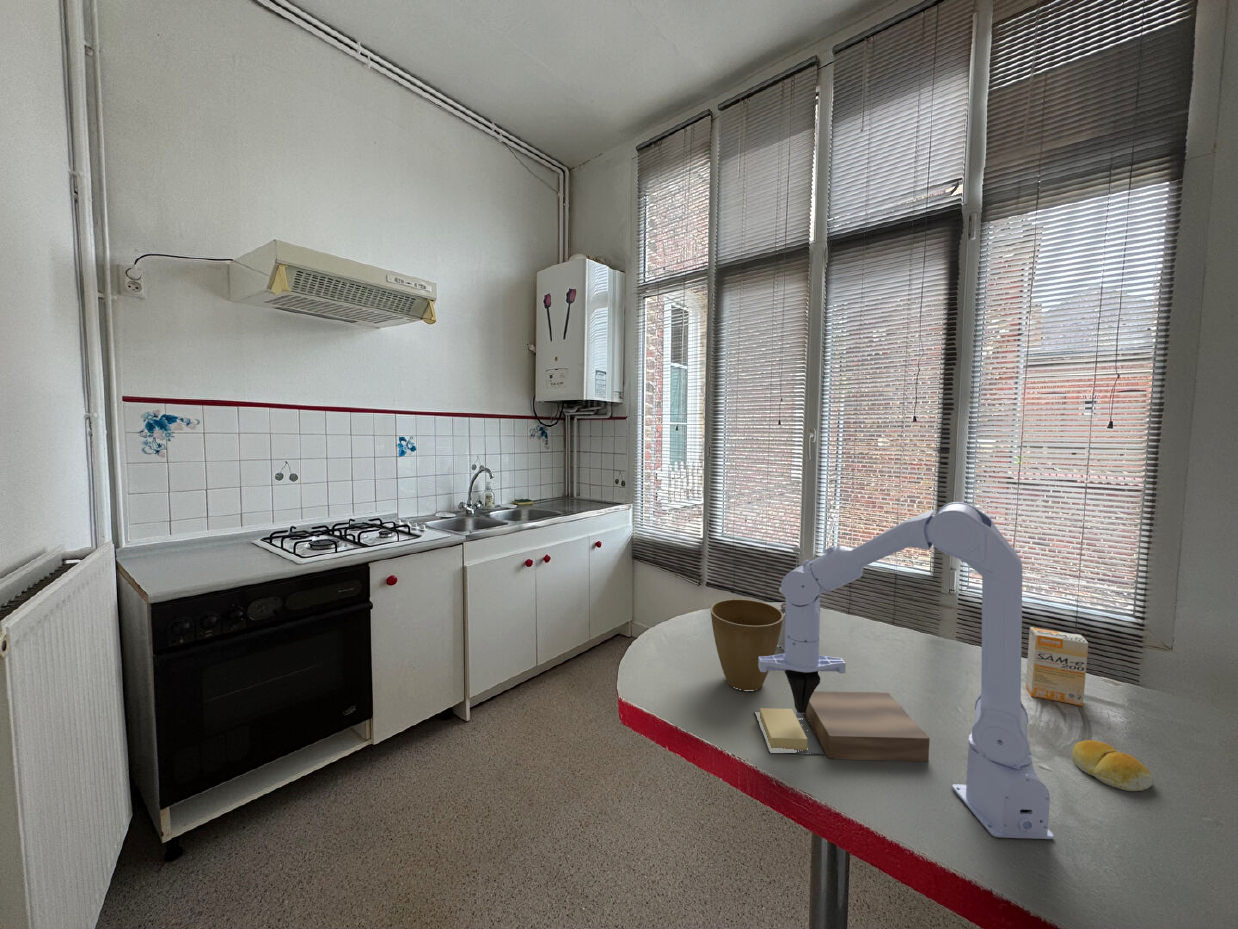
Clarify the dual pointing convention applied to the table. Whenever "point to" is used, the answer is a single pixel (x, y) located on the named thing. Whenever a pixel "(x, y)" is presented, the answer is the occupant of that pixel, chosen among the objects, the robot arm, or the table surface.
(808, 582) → the robot arm
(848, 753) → the board
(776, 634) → the plant pot
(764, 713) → the pale yellow block
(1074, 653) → the supplement box
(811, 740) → the mat
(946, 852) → the table surface
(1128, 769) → the bread roll
